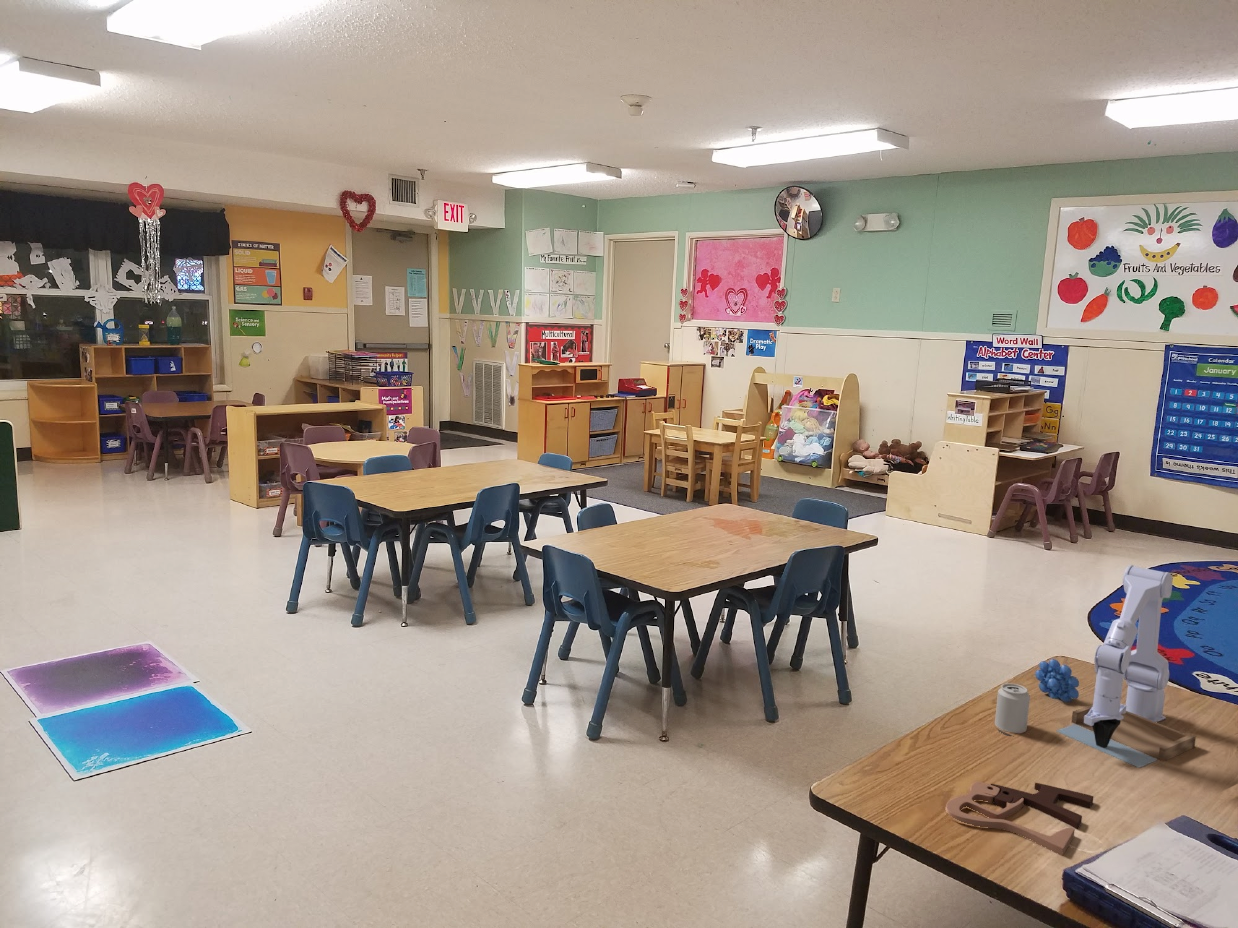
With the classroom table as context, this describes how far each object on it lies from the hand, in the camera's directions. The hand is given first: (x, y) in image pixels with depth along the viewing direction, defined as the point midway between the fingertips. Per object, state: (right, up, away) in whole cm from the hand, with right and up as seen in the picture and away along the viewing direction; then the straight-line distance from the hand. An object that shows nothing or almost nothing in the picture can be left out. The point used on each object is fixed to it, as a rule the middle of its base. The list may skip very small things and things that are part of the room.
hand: (1101, 745), depth 220 cm
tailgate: (+5, 0, +3) cm, 6 cm away
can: (-18, 0, +10) cm, 21 cm away
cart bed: (+11, -1, +7) cm, 13 cm away
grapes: (+2, +3, +28) cm, 28 cm away
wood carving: (-32, -6, -26) cm, 42 cm away
